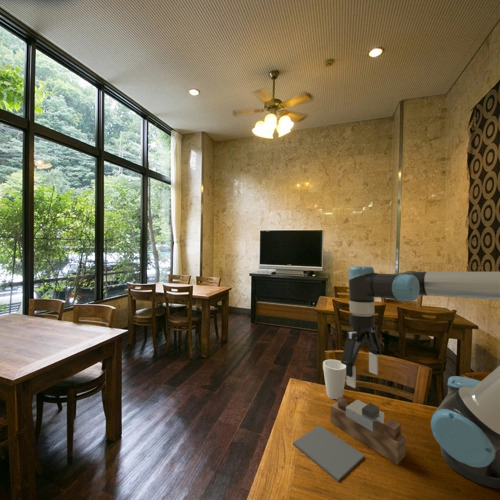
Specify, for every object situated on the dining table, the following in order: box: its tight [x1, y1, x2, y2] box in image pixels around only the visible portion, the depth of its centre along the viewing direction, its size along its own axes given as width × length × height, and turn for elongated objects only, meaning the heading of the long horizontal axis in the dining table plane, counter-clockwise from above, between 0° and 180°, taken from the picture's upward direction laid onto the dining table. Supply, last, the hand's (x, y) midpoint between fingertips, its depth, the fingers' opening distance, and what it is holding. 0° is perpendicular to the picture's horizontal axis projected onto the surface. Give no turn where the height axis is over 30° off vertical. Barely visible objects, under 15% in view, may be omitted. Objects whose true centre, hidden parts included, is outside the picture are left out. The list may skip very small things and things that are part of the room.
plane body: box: [330, 396, 406, 465], centre depth 81 cm, size 22×5×9 cm, turn 37°
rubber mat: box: [292, 424, 365, 482], centre depth 76 cm, size 16×13×1 cm
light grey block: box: [346, 399, 385, 432], centre depth 81 cm, size 9×7×5 cm
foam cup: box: [322, 359, 346, 400], centre depth 105 cm, size 10×9×13 cm
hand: (362, 379), depth 82 cm, fingers open, 13 cm apart
